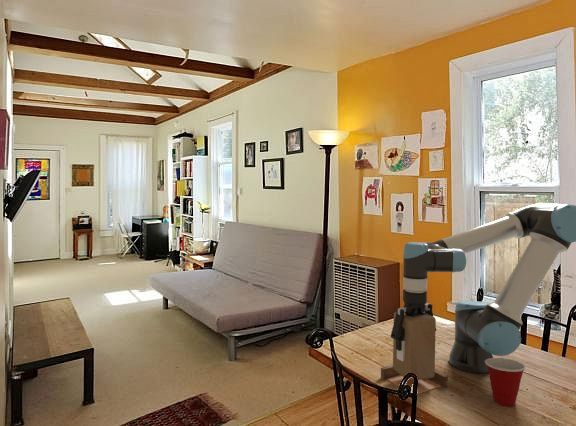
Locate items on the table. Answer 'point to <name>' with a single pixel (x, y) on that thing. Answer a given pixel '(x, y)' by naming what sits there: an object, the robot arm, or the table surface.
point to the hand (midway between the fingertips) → (413, 356)
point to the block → (417, 347)
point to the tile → (422, 384)
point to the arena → (438, 378)
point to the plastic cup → (505, 379)
